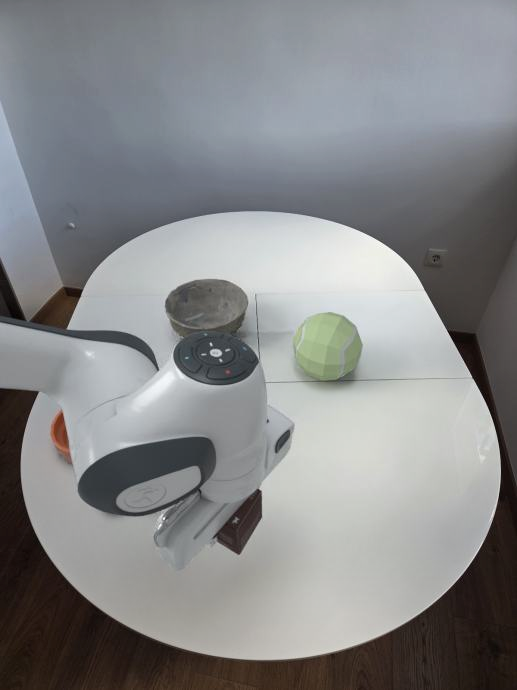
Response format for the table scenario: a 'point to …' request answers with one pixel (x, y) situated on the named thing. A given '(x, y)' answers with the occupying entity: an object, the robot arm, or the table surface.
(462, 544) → the table surface
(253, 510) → the box
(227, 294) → the bowl
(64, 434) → the clay bowl
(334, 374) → the green ball
